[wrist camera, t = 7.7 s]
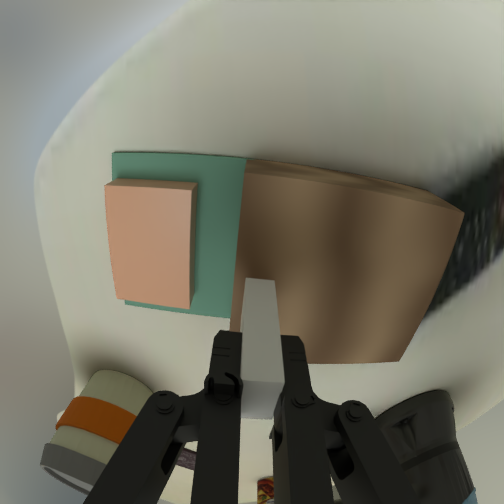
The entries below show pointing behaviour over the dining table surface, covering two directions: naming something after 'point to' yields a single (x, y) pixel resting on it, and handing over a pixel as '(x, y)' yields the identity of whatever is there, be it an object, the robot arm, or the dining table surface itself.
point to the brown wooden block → (342, 257)
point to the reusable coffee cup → (93, 428)
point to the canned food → (265, 490)
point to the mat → (199, 219)
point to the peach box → (152, 240)
